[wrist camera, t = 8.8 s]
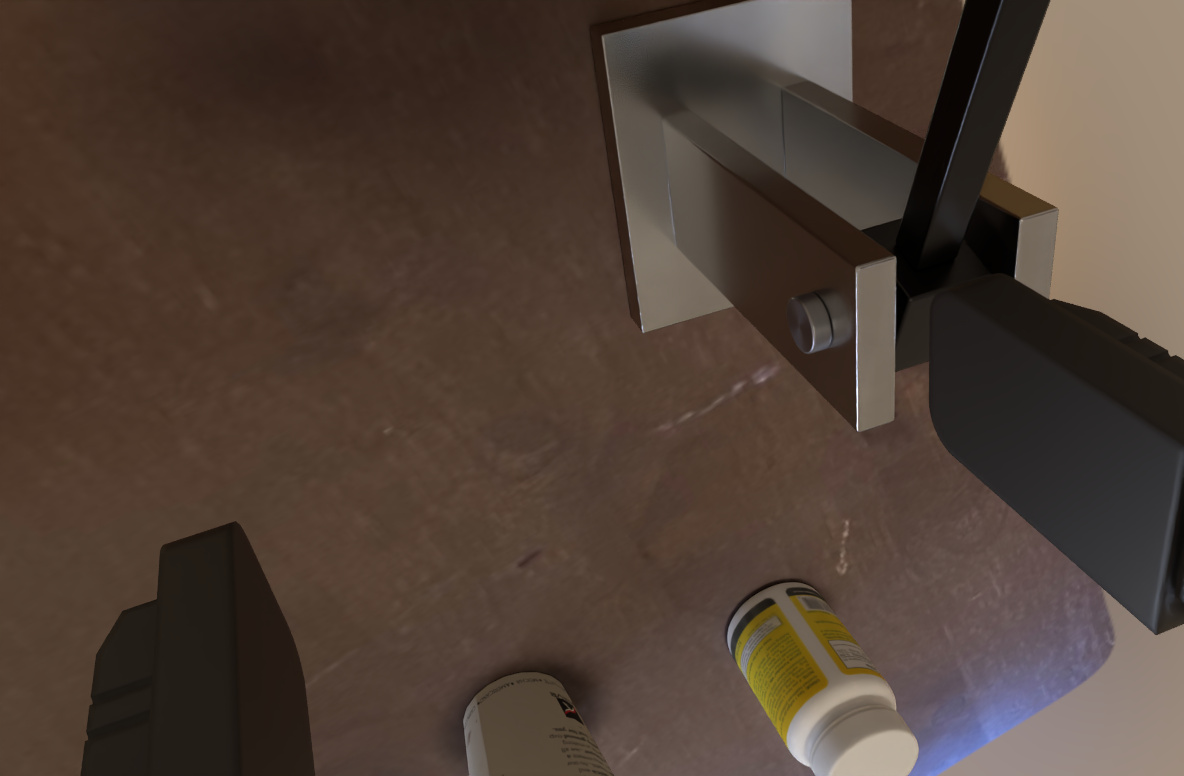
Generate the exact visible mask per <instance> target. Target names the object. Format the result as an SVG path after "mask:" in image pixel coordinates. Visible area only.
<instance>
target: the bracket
mask: <svg viewBox="0 0 1184 776" xmlns="http://www.w3.org/2000/svg"><path fill="white" fill-rule="evenodd" d="M590 36H591V42H592V49H593V56H594V63H595V70H596V77H597V84H598V91H599V97H600V104H601V111H602V118H603V125H604V132H605V139H606V146H607V152H608V159H609V166H610V173H611V180H612V187H613V194H614V201H615V207H616V214H617V221H618V228H619V235H620V242H621V249H622V256H623V262H624V269H625V276H626V283H627V290H628V297H629V304H630V311H631V318H632V319H633V321H634V322H635V323H636V324H637V326H638V327H639V328H640V330H641V331H642V332H643V333H646V332H649V331H653V330H656V329H659V328H663V327H666V326H670V325H673V324H676V323H680V322H683V321H687V320H690V319H693V318H697V317H700V316H704V315H707V314H710V313H714V312H717V311H721V310H724V309H727V308H731V307H734V306H735V307H736V308H737V309H738V311H739V312H740V313H741V314H742V315H743V316H744V317H745V318H746V319H747V320H748V321H749V322H750V323H751V324H752V325H753V326H754V327H755V328H756V329H757V330H758V331H759V332H760V333H761V334H762V335H763V336H764V337H765V338H766V339H767V340H768V341H769V342H770V343H771V344H772V345H773V346H774V347H775V348H776V349H777V350H778V351H779V352H780V353H781V354H782V355H783V356H784V357H785V358H786V359H787V360H788V361H789V363H790V364H791V365H792V366H793V367H794V368H795V369H796V370H797V371H798V372H799V373H800V374H801V375H802V376H803V377H804V378H805V379H806V380H807V381H808V382H809V383H810V384H811V385H812V386H813V387H814V388H815V389H816V390H817V391H818V392H819V393H820V394H821V395H822V396H823V397H824V398H825V399H826V400H827V401H828V402H829V403H830V404H831V405H832V406H833V407H834V408H835V409H836V410H837V411H838V412H839V413H840V414H841V416H842V417H843V418H844V419H845V420H846V421H847V422H848V423H849V424H850V425H851V426H852V427H853V428H854V429H855V430H856V431H858V432H862V431H865V430H868V429H871V428H874V427H877V426H880V425H883V424H886V423H889V422H892V421H893V420H894V404H895V340H896V276H897V258H896V256H895V255H894V254H893V253H892V252H890V251H889V250H887V249H886V248H884V247H883V246H882V245H880V244H879V243H877V242H876V241H875V240H873V239H872V238H870V237H869V236H867V235H866V234H865V233H863V232H862V231H860V230H862V229H866V228H869V227H873V226H876V225H880V224H883V223H887V222H890V221H893V220H897V219H900V218H902V217H903V214H904V210H905V207H906V203H907V200H908V196H909V193H910V190H911V186H912V183H913V179H914V176H915V172H916V169H917V165H918V162H919V159H920V155H921V152H922V148H923V145H924V141H925V139H923V138H921V137H919V136H917V135H915V134H913V133H911V132H909V131H907V130H905V129H903V128H901V127H900V126H898V125H896V124H894V123H892V122H890V121H888V120H886V119H884V118H882V117H880V116H878V115H876V114H874V113H872V112H870V111H868V110H867V109H865V108H863V107H861V106H859V105H857V104H855V103H853V67H852V0H702V1H698V2H694V3H689V4H685V5H681V6H677V7H673V8H668V9H664V10H660V11H656V12H651V13H647V14H643V15H639V16H634V17H630V18H626V19H622V20H617V21H613V22H609V23H605V24H600V25H596V26H592V27H590ZM1058 211H1059V210H1058V208H1057V207H1055V206H1053V205H1051V204H1049V203H1047V202H1045V201H1043V200H1041V199H1039V198H1037V197H1036V196H1033V195H1032V194H1030V193H1028V192H1026V191H1024V190H1022V189H1020V188H1018V187H1016V186H1014V185H1012V184H1010V183H1008V182H1006V181H1004V180H1003V179H1001V178H999V177H997V176H995V175H993V174H991V173H989V172H988V173H987V176H986V179H985V181H984V184H983V187H982V190H981V192H980V195H979V198H978V201H977V203H976V206H975V209H974V211H973V214H972V217H971V220H970V222H969V225H968V228H967V231H966V233H965V236H964V239H965V240H966V241H967V242H968V244H969V245H970V246H971V247H972V249H973V250H974V251H975V252H976V254H977V255H978V256H979V257H980V259H981V260H982V261H983V262H984V264H985V265H986V266H987V267H988V268H989V270H990V271H991V272H992V274H996V273H1003V274H1006V275H1009V276H1011V277H1012V278H1014V279H1016V280H1017V281H1019V282H1021V283H1022V284H1024V285H1026V286H1027V287H1029V288H1031V289H1032V290H1034V291H1036V292H1038V293H1039V294H1041V295H1043V296H1044V297H1046V298H1048V299H1049V295H1050V285H1051V276H1052V267H1053V257H1054V248H1055V238H1056V230H1057V220H1058Z"/></svg>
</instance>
